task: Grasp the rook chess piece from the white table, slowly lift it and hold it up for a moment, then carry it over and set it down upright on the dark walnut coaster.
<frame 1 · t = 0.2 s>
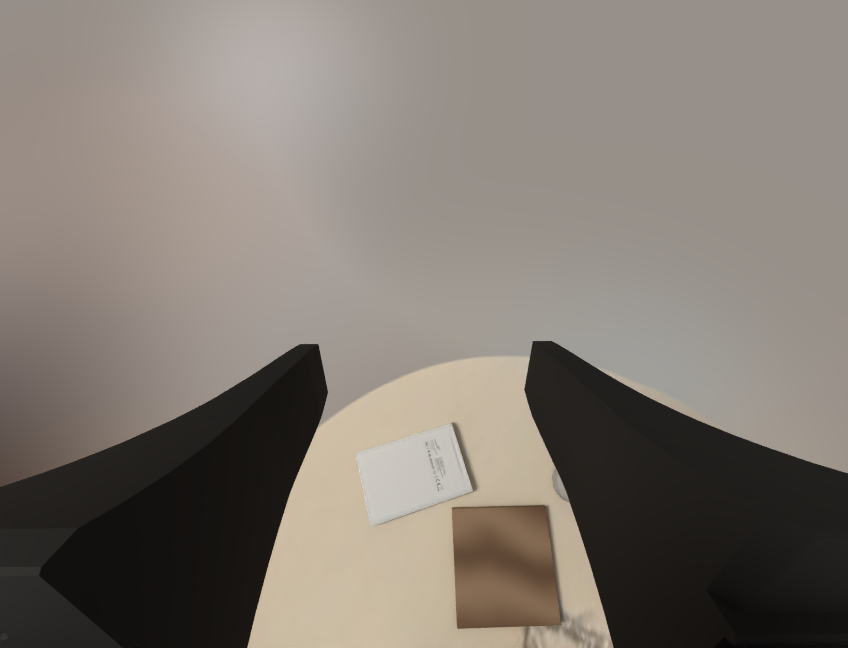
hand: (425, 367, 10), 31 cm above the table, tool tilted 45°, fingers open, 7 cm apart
rook chess piece: (567, 481, 38), on the table
external hard drive: (413, 470, 39), on the table
walnut coaster: (502, 561, 35), on the table
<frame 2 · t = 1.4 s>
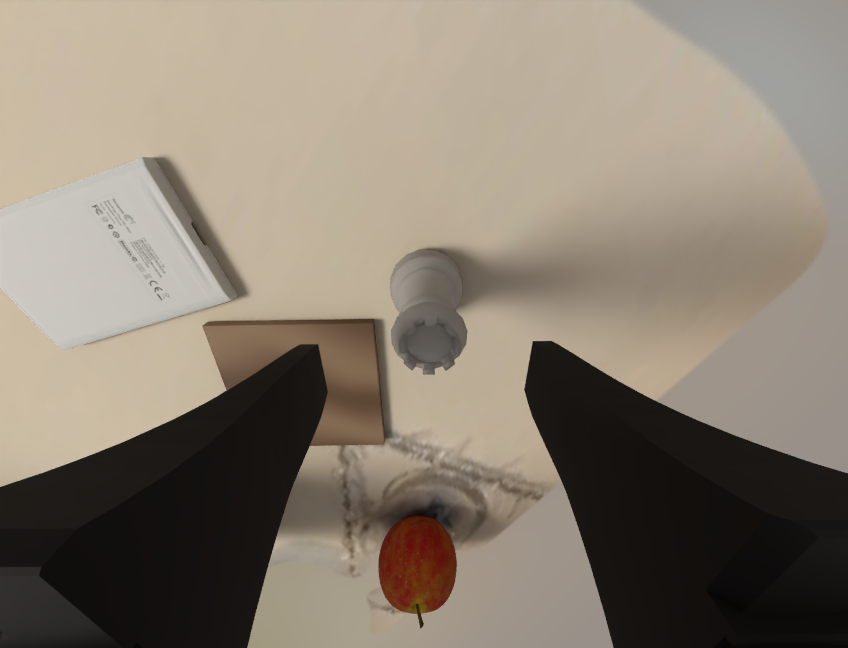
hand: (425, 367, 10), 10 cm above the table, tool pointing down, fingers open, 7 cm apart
fruit: (417, 518, 31), on the table
rook chess piece: (425, 281, 20), on the table
external hard drive: (121, 259, 19), on the table
walnut coaster: (306, 386, 23), on the table
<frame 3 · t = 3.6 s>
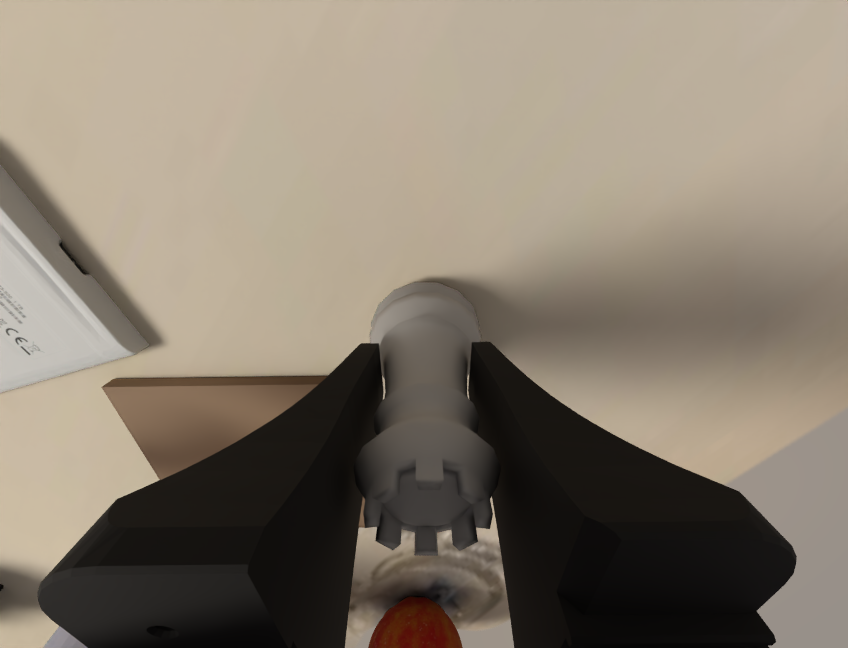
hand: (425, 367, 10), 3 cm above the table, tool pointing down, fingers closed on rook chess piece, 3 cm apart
fruit: (416, 598, 25), on the table
rook chess piece: (425, 325, 13), on the table, touching gripper
walnut coaster: (262, 458, 17), on the table
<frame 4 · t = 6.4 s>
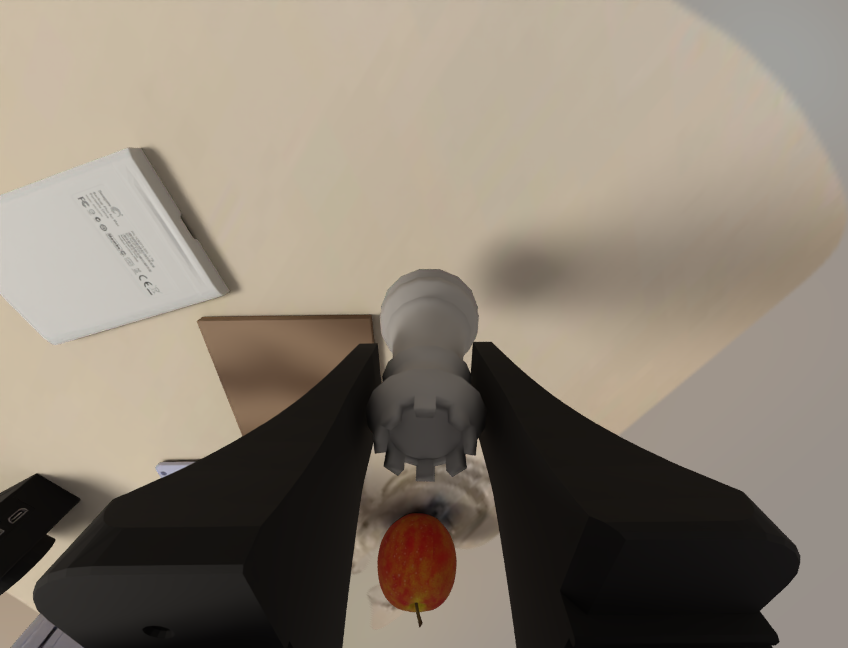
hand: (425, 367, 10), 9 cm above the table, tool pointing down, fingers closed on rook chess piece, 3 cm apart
fruit: (417, 516, 31), on the table
rook chess piece: (429, 309, 15), point 5 cm above the table, touching gripper
digital camera: (35, 504, 30), on the table
external hard drive: (111, 253, 19), on the table
walnut coaster: (303, 383, 23), on the table
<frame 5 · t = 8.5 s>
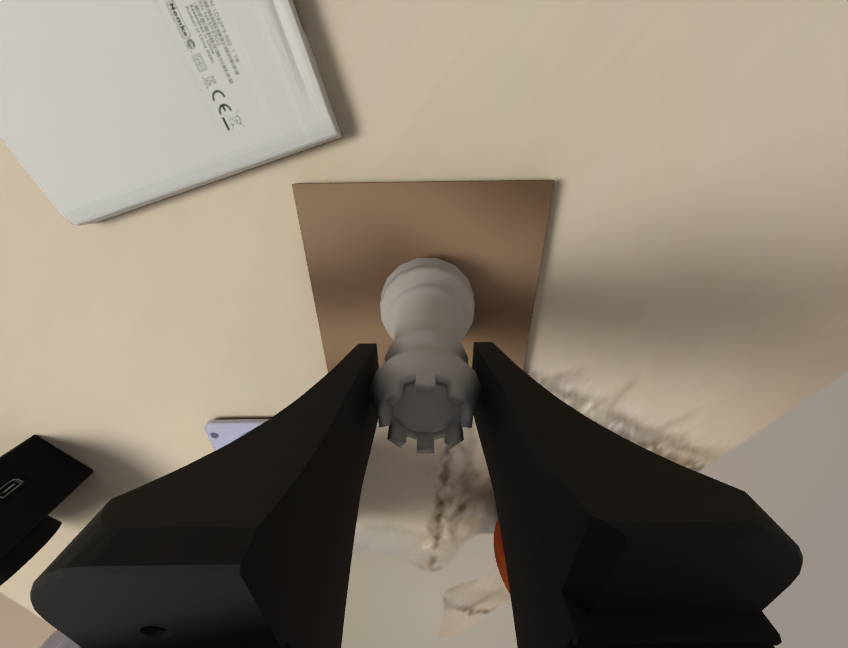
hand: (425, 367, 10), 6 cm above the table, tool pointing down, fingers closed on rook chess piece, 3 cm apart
fruit: (529, 497, 24), on the table
rook chess piece: (427, 297, 15), point 1 cm above the table, touching gripper
digital camera: (36, 479, 23), on the table
external hard drive: (163, 74, 12), on the table
walnut coaster: (424, 298, 16), on the table
when the fingers open (5 cm above the table, at t = 9.6 s): rook chess piece stays where it is, resting on walnut coaster.
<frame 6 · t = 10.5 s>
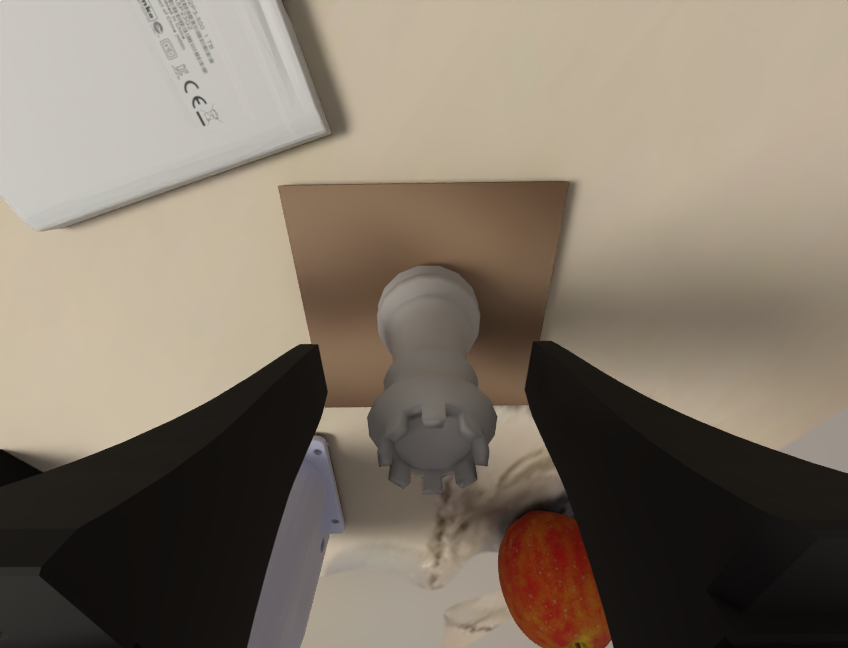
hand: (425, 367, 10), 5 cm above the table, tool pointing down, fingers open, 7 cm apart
fruit: (535, 515, 23), on the table
rook chess piece: (428, 307, 14), resting on walnut coaster
digital camera: (9, 496, 22), on the table
external hard drive: (131, 63, 11), on the table
walnut coaster: (424, 309, 15), on the table
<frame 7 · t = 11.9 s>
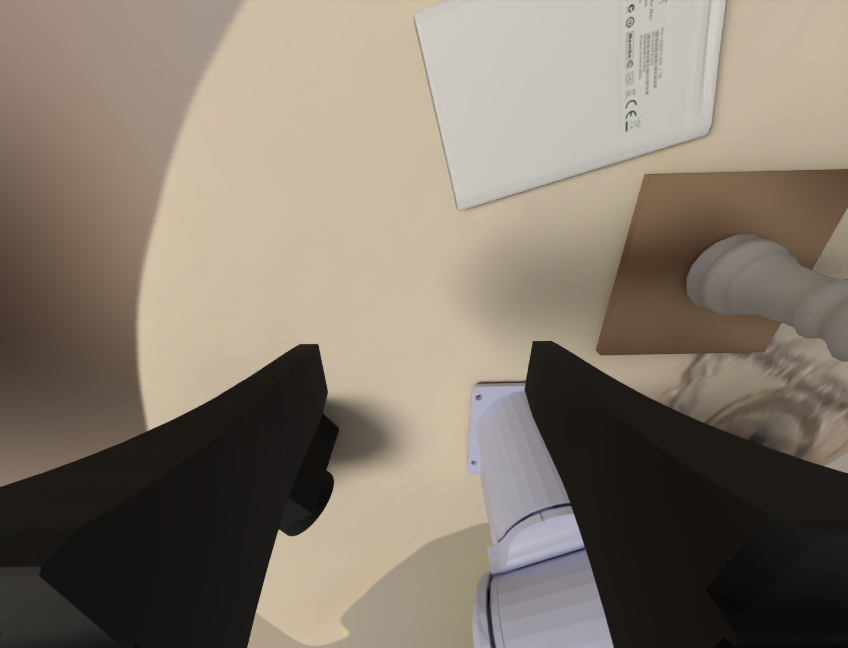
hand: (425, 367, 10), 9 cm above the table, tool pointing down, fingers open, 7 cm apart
rook chess piece: (717, 269, 18), resting on walnut coaster
digital camera: (281, 440, 26), on the table
external hard drive: (558, 86, 15), on the table
walnut coaster: (707, 272, 19), on the table
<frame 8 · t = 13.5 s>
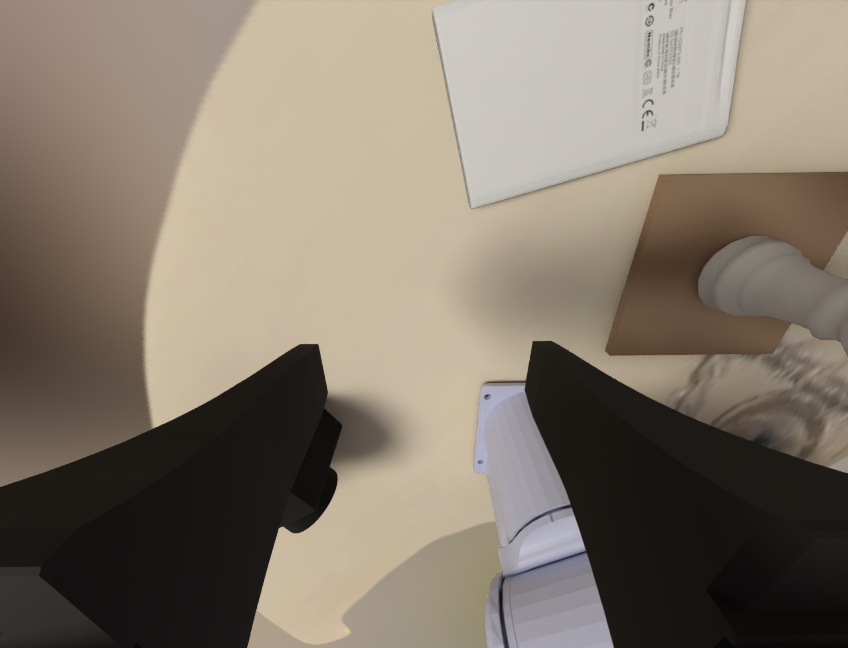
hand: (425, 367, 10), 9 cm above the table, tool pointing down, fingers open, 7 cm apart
rook chess piece: (728, 270, 18), resting on walnut coaster
digital camera: (284, 438, 26), on the table
external hard drive: (574, 85, 15), on the table
walnut coaster: (718, 273, 19), on the table
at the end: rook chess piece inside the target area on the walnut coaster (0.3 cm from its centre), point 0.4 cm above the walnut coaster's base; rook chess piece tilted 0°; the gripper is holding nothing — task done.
